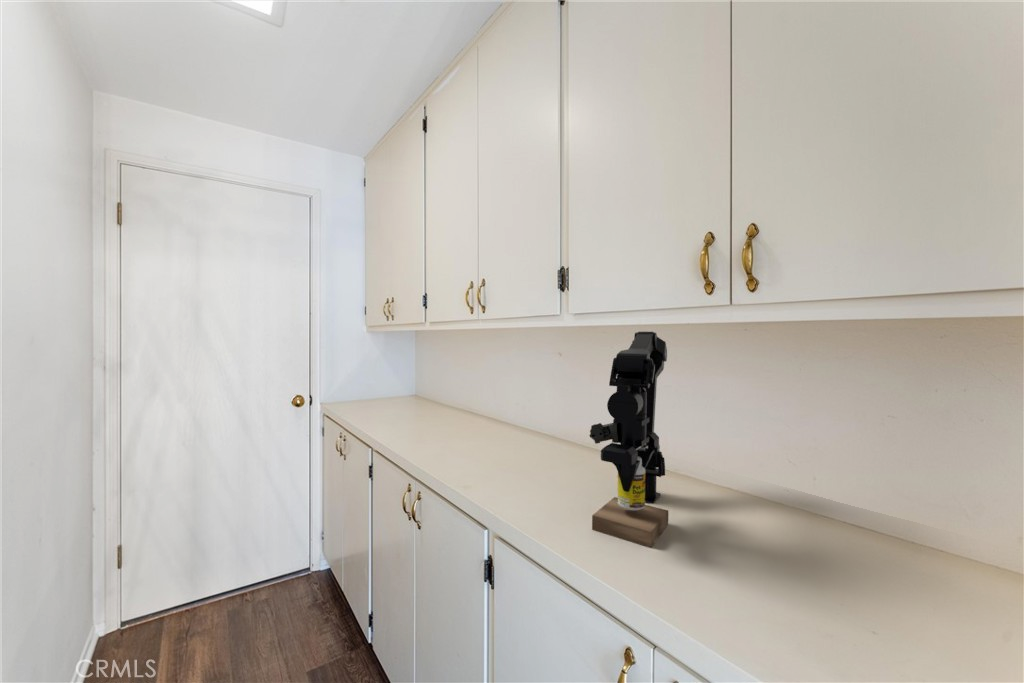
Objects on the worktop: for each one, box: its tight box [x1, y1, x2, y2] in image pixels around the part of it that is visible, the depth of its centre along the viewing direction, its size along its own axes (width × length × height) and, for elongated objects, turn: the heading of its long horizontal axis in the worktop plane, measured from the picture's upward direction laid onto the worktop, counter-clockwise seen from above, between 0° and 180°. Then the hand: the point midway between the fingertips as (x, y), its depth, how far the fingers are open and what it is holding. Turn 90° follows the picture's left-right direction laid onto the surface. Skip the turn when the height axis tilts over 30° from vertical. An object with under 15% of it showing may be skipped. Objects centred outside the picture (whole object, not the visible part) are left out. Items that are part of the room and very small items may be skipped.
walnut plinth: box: [591, 496, 669, 549], centre depth 85 cm, size 12×12×3 cm
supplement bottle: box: [617, 456, 646, 510], centre depth 85 cm, size 6×6×10 cm
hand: (631, 486), depth 85 cm, fingers closed on supplement bottle, 6 cm apart
